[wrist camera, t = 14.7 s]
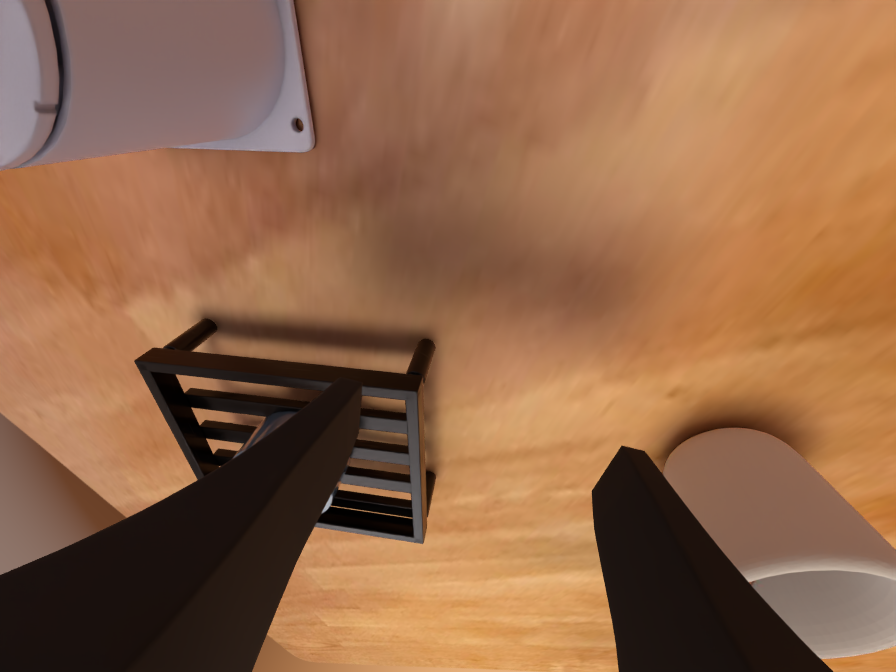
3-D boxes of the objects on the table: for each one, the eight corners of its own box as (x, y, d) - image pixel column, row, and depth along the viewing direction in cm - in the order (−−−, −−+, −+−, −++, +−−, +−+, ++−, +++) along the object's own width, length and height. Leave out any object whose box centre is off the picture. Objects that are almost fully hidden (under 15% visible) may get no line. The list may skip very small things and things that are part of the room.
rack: (198, 315, 22) (133, 360, 18) (435, 337, 20) (417, 391, 16) (253, 456, 28) (214, 511, 25) (436, 481, 27) (423, 544, 23)
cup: (883, 462, 20) (1067, 641, 14) (761, 532, 24) (855, 694, 18) (711, 386, 19) (817, 539, 13) (616, 473, 24) (657, 621, 17)
